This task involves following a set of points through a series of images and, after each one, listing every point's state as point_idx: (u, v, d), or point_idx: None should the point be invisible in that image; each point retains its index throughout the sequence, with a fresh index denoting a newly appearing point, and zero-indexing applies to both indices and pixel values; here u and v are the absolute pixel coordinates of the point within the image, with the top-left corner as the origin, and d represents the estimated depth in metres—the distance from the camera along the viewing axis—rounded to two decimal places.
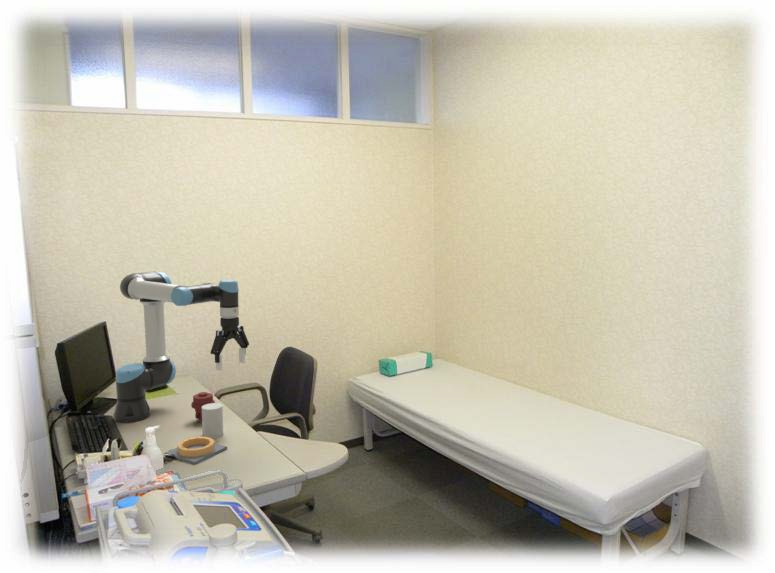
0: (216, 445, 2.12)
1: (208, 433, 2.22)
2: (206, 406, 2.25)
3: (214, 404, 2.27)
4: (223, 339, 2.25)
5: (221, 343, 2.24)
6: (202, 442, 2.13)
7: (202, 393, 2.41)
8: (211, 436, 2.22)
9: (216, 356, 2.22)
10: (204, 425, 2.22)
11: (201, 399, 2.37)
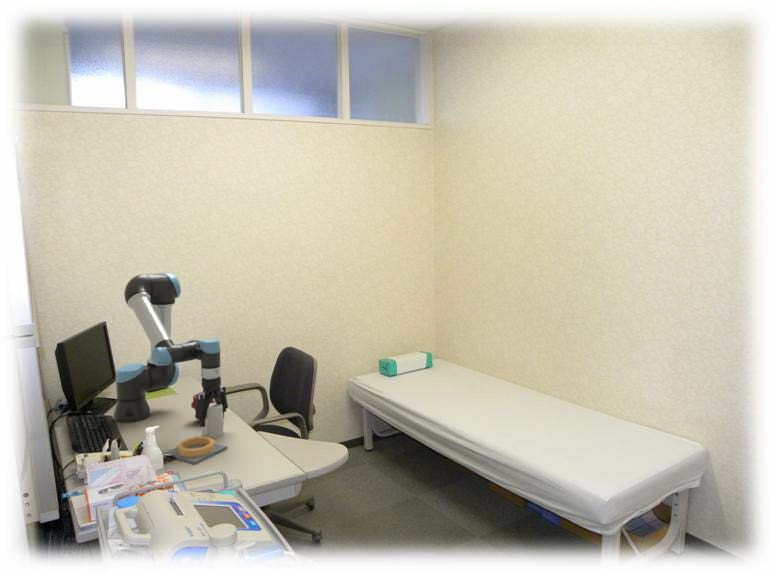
0: (216, 445, 2.12)
1: (208, 433, 2.22)
2: None
3: (214, 404, 2.27)
4: (206, 401, 2.21)
5: (204, 406, 2.21)
6: (202, 442, 2.13)
7: None
8: (211, 436, 2.22)
9: (201, 420, 2.20)
10: None
11: None
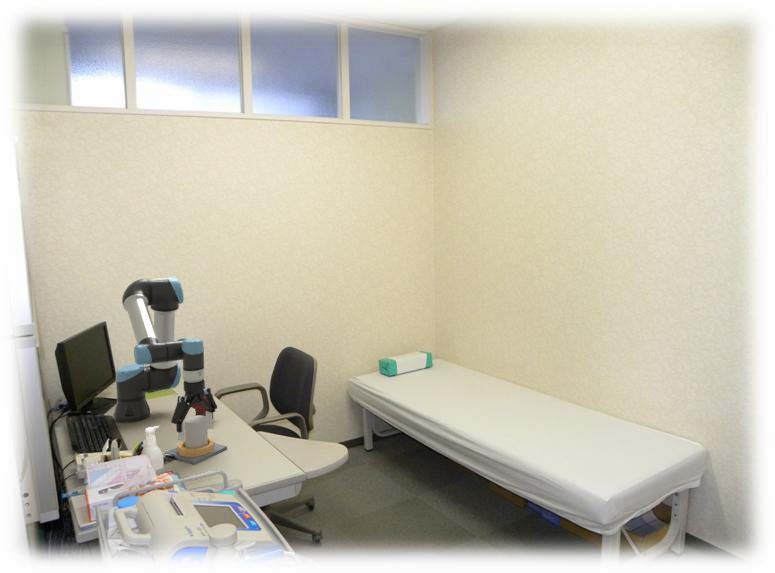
0: (216, 445, 2.12)
1: (191, 448, 2.04)
2: (189, 419, 2.07)
3: (199, 416, 2.10)
4: (186, 405, 2.02)
5: (184, 410, 2.02)
6: None
7: None
8: None
9: (178, 425, 2.00)
10: (187, 440, 2.05)
11: None
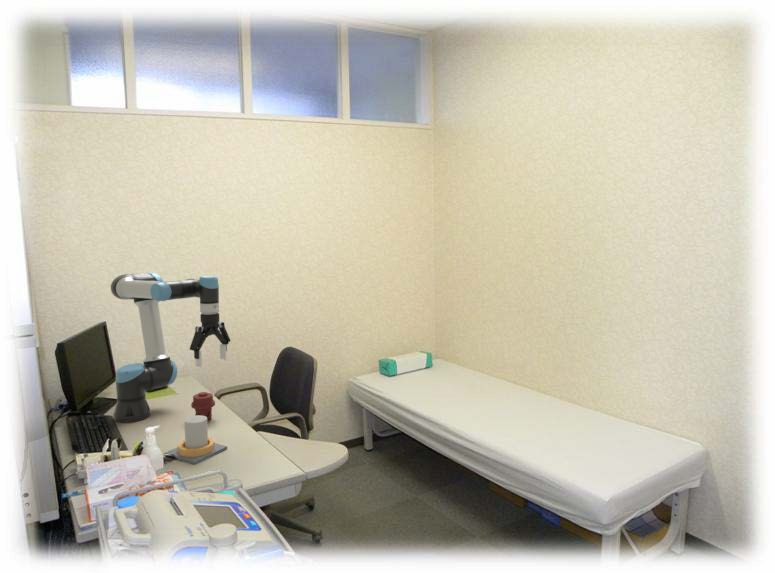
0: (216, 445, 2.12)
1: (191, 448, 2.04)
2: (189, 419, 2.07)
3: (199, 416, 2.10)
4: (203, 335, 2.25)
5: (201, 339, 2.24)
6: None
7: (202, 393, 2.41)
8: None
9: (195, 352, 2.22)
10: (187, 440, 2.05)
11: (201, 399, 2.37)
